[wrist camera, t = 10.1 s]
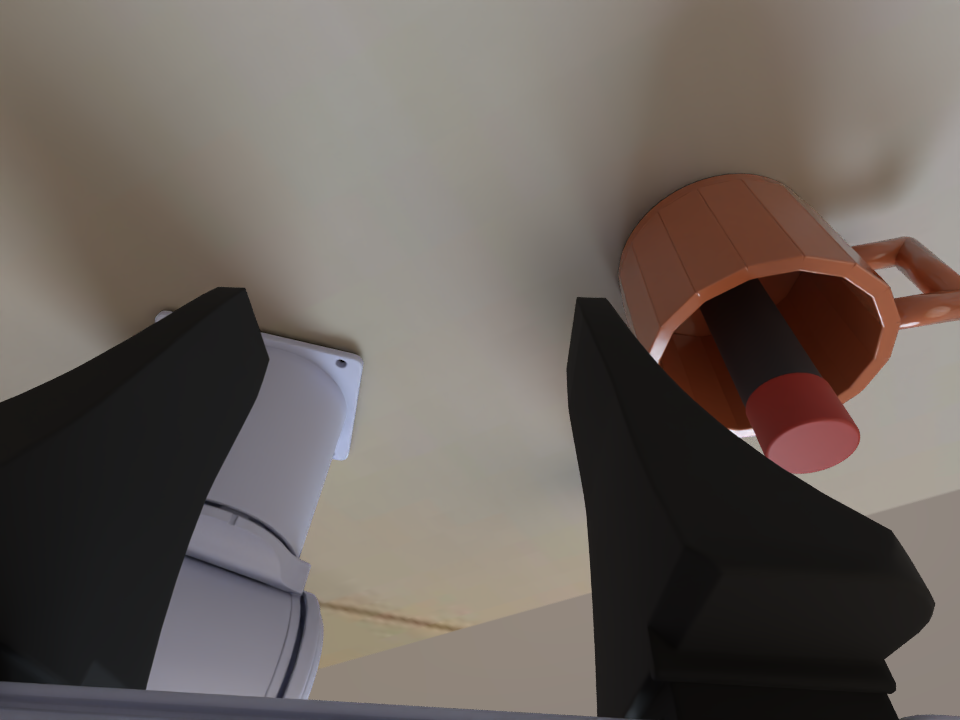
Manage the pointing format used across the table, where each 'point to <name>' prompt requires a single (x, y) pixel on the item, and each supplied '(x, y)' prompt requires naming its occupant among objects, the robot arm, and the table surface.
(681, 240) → the orange coffee mug
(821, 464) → the marker
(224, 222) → the table surface
